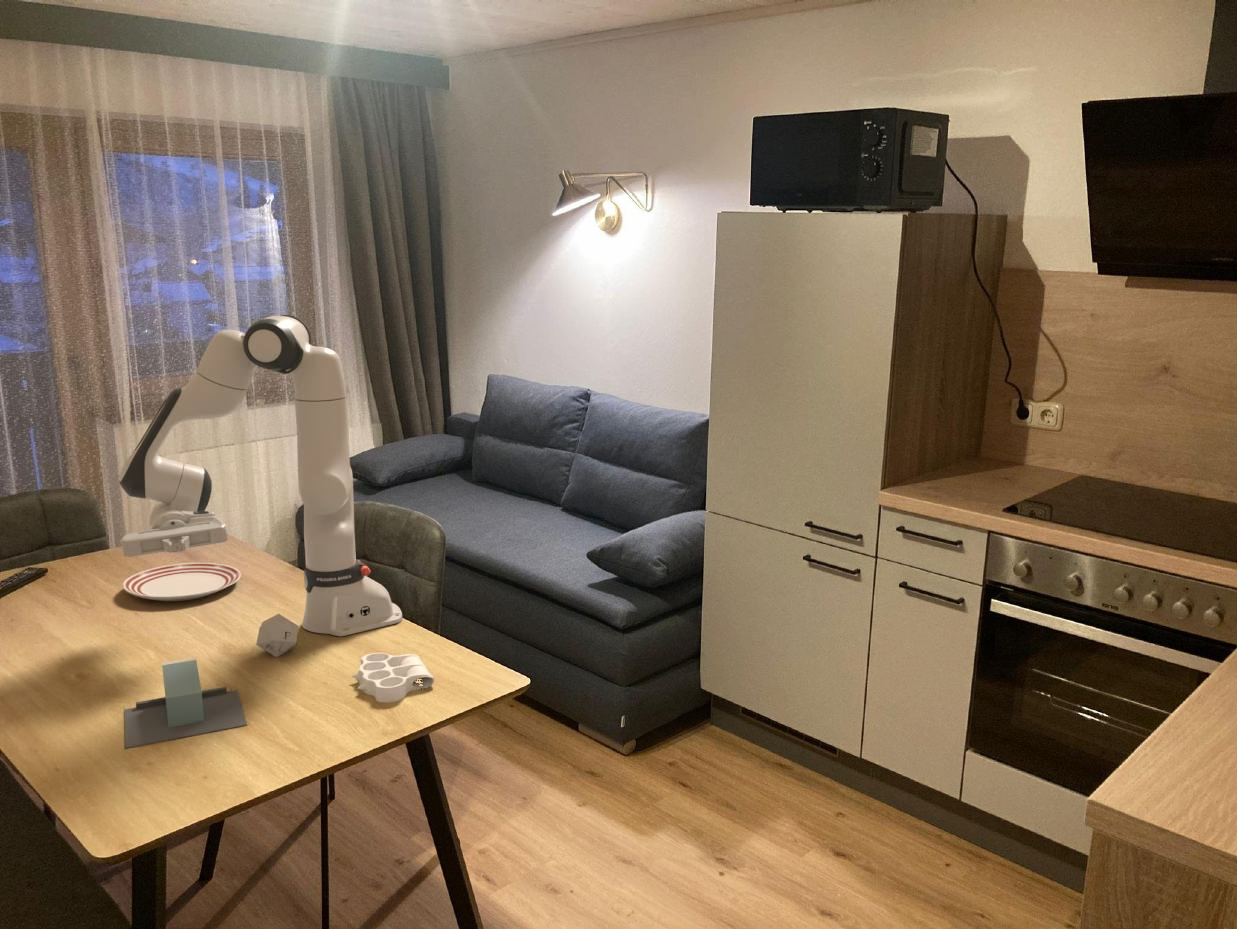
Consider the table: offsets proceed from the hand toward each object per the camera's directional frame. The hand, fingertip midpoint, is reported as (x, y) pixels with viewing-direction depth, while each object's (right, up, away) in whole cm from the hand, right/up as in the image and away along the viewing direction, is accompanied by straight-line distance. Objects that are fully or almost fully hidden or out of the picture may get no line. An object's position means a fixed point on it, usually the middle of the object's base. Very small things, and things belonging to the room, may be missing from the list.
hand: (177, 547), depth 202 cm
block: (+5, -23, -10) cm, 26 cm away
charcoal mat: (+10, -30, -18) cm, 37 cm away
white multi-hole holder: (+44, -27, -3) cm, 52 cm away
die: (+17, -24, +11) cm, 31 cm away
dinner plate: (-20, -15, +49) cm, 55 cm away
